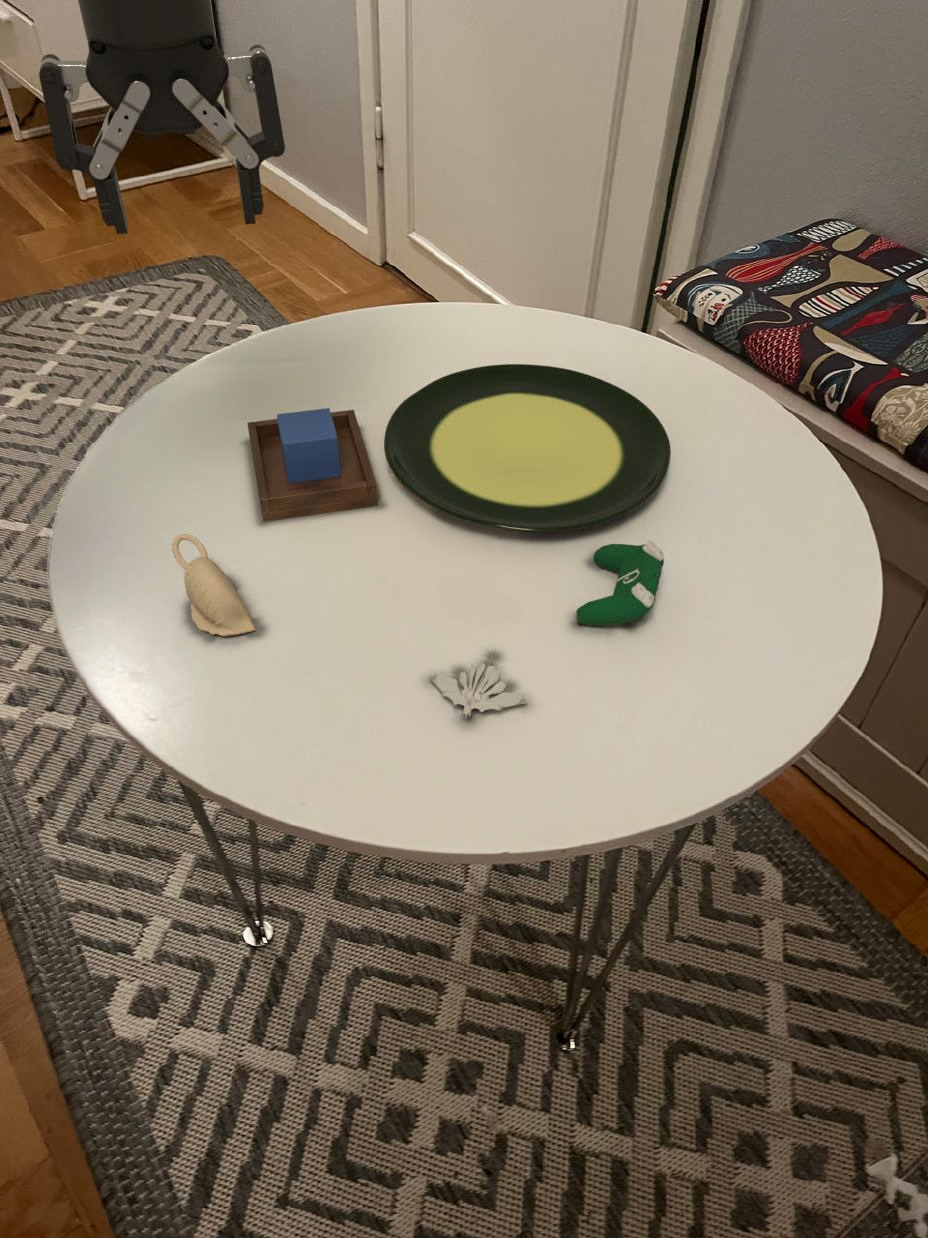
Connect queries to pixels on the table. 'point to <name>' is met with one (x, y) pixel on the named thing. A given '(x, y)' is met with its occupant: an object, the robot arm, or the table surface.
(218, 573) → the decorative ornament
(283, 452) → the cube
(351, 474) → the tray
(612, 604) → the green christmas stocking
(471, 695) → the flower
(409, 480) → the plate
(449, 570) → the table surface
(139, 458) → the table surface
